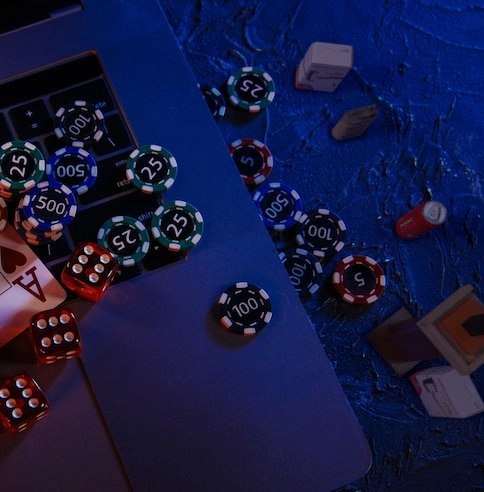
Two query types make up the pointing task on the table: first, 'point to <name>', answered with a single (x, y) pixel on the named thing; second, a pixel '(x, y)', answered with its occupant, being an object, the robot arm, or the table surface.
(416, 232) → the beverage can
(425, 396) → the ink box
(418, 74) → the table surface
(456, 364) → the dock pad
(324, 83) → the ink box
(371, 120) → the tan tapered block
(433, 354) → the stand
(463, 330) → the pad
